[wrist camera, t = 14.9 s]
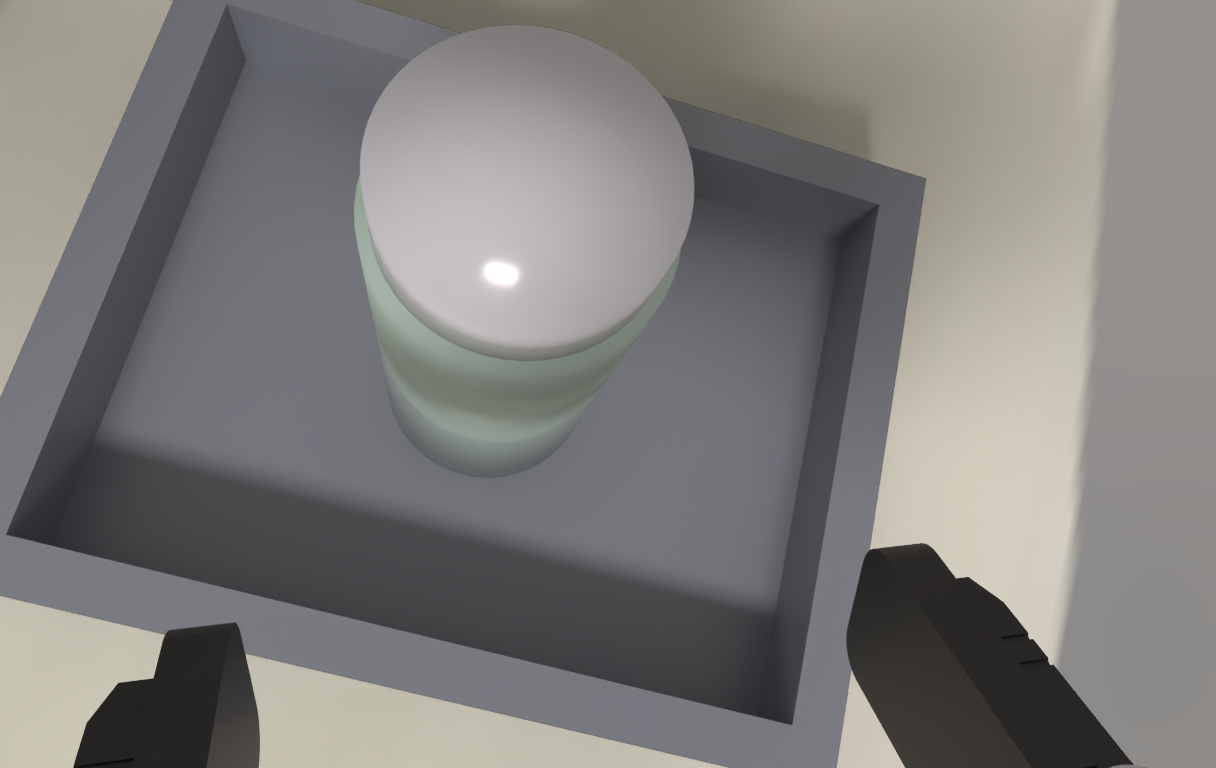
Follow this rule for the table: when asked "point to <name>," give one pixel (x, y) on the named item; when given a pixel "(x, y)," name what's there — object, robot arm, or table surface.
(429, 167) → the shaker
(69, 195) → the table surface
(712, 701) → the tray
